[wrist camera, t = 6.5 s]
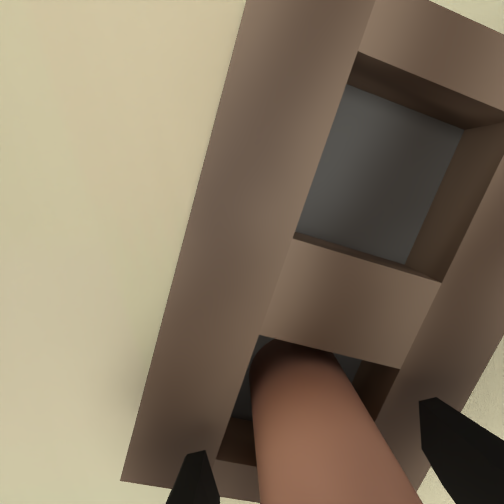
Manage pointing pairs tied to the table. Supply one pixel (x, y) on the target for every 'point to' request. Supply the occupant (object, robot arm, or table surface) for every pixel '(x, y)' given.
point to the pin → (317, 433)
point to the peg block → (336, 229)
